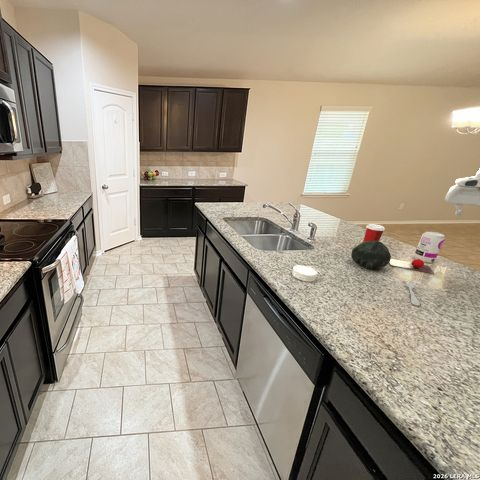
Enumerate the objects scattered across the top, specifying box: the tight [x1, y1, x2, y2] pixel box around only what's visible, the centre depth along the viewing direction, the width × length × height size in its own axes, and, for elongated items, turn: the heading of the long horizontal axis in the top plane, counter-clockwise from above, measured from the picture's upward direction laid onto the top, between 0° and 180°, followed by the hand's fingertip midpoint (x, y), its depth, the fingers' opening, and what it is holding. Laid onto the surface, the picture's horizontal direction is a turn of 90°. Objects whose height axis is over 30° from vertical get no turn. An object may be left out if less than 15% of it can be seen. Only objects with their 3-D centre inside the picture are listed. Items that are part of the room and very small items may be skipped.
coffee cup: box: [362, 223, 386, 242], centre depth 144 cm, size 8×8×15 cm
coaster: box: [291, 264, 318, 283], centre depth 117 cm, size 10×10×4 cm
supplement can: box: [413, 231, 446, 264], centre depth 132 cm, size 8×8×15 cm
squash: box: [350, 240, 392, 270], centre depth 126 cm, size 14×15×15 cm
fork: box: [405, 281, 421, 307], centre depth 105 cm, size 3×21×3 cm, turn 145°
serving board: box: [388, 258, 435, 275], centre depth 128 cm, size 16×10×1 cm, turn 57°
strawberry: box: [411, 258, 425, 268], centre depth 125 cm, size 4×4×4 cm
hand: (474, 216), depth 104 cm, fingers open, 8 cm apart
